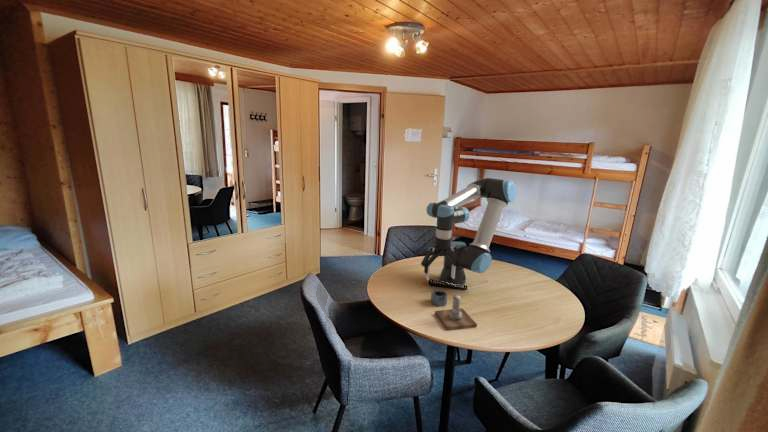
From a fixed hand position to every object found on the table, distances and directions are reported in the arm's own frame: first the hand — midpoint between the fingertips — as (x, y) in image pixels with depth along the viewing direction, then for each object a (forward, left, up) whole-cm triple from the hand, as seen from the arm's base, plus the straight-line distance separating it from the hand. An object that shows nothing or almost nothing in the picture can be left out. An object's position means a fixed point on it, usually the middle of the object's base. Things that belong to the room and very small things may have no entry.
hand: (440, 278), depth 162 cm
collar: (0, 0, -13) cm, 13 cm away
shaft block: (-1, +17, -13) cm, 21 cm away
